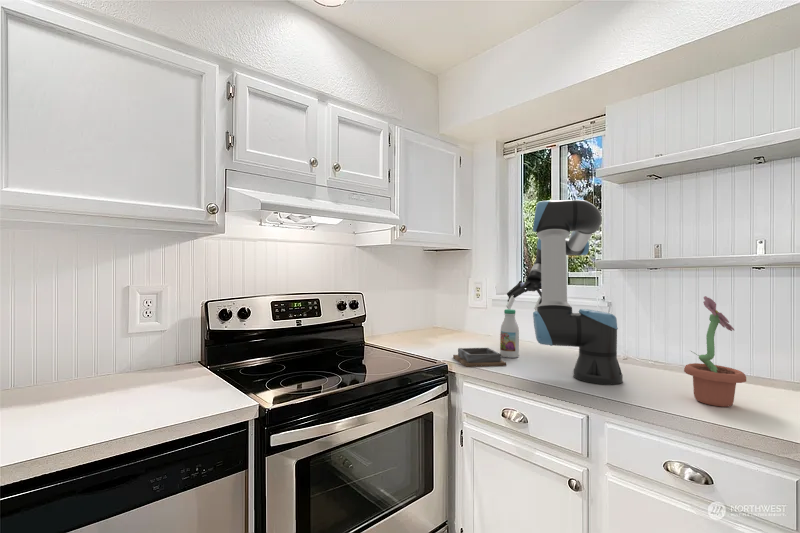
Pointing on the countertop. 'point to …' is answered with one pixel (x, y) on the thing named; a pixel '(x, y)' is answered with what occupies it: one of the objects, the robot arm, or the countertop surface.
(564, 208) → the robot arm
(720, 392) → the decorative flower
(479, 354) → the square grey dish
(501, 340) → the milk bottle
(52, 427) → the countertop surface
